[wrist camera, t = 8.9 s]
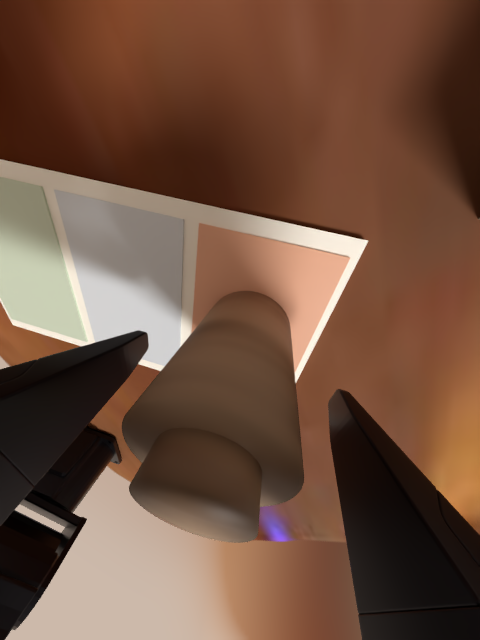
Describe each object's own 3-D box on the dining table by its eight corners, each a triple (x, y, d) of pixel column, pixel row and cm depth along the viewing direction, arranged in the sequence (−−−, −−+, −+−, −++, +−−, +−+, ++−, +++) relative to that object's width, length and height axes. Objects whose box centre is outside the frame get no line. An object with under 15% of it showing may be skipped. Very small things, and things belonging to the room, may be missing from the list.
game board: (282, 405, 14) (282, 410, 14) (17, 323, 16) (11, 325, 16) (365, 240, 8) (369, 241, 8) (-76, 142, 10) (-88, 139, 10)
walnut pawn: (275, 371, 12) (269, 572, 5) (204, 350, 12) (108, 510, 5) (303, 304, 10) (364, 519, 3) (213, 280, 10) (57, 414, 3)
